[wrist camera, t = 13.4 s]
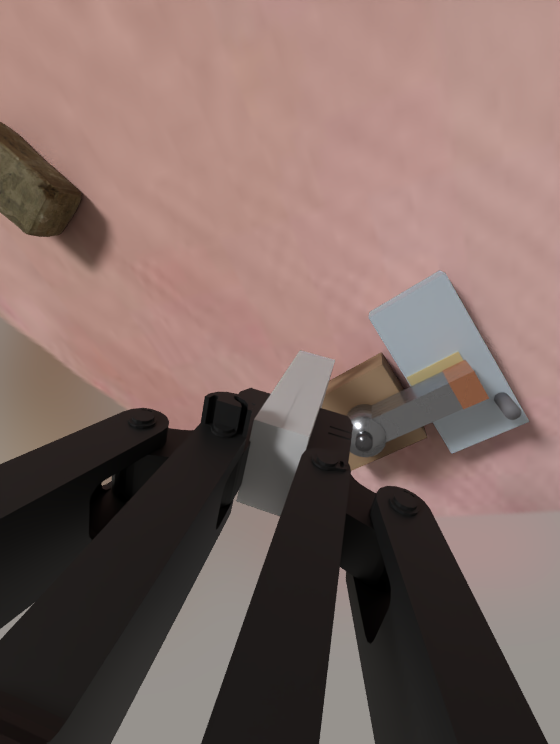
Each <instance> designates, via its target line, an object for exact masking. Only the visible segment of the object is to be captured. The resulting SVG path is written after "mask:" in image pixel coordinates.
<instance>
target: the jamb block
mask: <svg viewBox="0 0 560 744" xmlns="http://www.w3.org/2000/svg"><path fill="white" fill-rule="evenodd" d="M403 390H404V388H403V387H402V385H401V384H400V382H399V380H398V379H397V377H396V375H395V374H394V372H393V371H392V369H391V367H390V366H389V364H388V362H387V361H386V359H385V357H384V356H383V354H382V353H379V354H378V355H376V356H374V357H372V358H370V359H368V360H367V361H365V362H363V363H361V364H359V365H357V366H356V367H354V368H352V369H350V370H348V371H346V372H345V373H343V374H341V375H339V376H337V377H336V378H334V379H332V380H330V381H329V383H328V387H327V390H326V394H325V397H324V401H323V404H322V408H323V409H326V410H329V411H333V412H336V413H339V414H343V415H346V416H347V414H348V412H349V411H350V410H351V409H352V408H353V407H355V406H357V405H361V404H368V405H373V404H376V403H378V402H380V401H382V400H384V399H386V398H388V397H390V396H392V395H394V394H396V393H398V392H401V391H403ZM425 438H427V435H426V432H425V428H424V426H422V427H420V428H418V429H416V430H413V431H411V432H409V433H406V434H404V435H402V436H400V437H397V438H395V439H393V440H390V441H388V442H386V444H385V447H384V448H383V450H382V451H381V452H380V453H379V454H377V455H375V456H372V457H359V456H356V455H354V454H352V453H351V452H350V454H349V462H348V463H349V465H350V469H351V471H352V470H354V469H356V468H359V467H361V466H363V465H366V464H368V463H370V462H372V461H375V460H377V459H379V458H382V457H384V456H386V455H388V454H391V453H393V452H395V451H397V450H400V449H402V448H404V447H407V446H409V445H411V444H413V443H416V442H418V441H420V440H423V439H425Z"/></svg>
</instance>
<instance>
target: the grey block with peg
mask: <svg viewBox="0 0 560 744" xmlns="http://www.w3.org/2000/svg"><path fill="white" fill-rule="evenodd" d="M369 319H370V321H371V322H372V324H373V326H374V327H375V329H376V331H377V332H378V334H379V336H380V337H381V339H382V340H383V342H384V344H385V345H386V347H387V349H388V350H389V352H390V354H391V355H392V357H393V358H394V360H395V362H396V363H397V365H398V367H399V368H400V370H401V372H402V373H403V375H404V376H405V378H406V380H407V381H408V383H409V385H410V386H413V385H415V384H417V383H419V382H421V381H423V380H425V379H428V378H430V377H432V376H434V375H436V374H438V373H440V372H442V370H445V369H447V368H449V367H451V366H453V365H455V364H457V363H459V362H461V361H463V360H466V361H467V362H468V364H469V365H470V366H471V368H472V369H473V370H474V372H475V374H476V375H477V377H478V379H479V381H480V383H481V384H482V386H483V388H484V390H485V392H486V393H487V395H488V397H489V399H487V400H484V401H482V402H480V403H477V404H475V405H473V406H471V407H468V408H466V409H461V410H459V411H457V412H455V413H452V414H450V415H448V416H445V417H443V418H441V419H439V420H436V421H434V422H433V424H434V426H435V427H436V429H437V431H438V432H439V434H440V435H441V437H442V439H443V440H444V442H445V444H446V445H447V447H448V449H449V450H450V452H451V453H455V452H457V451H460V450H462V449H465V448H467V447H469V446H472V445H474V444H477V443H479V442H481V441H484V440H486V439H489V438H491V437H494V436H496V435H498V434H501V433H503V432H506V431H508V430H510V429H513V428H515V427H518V426H520V425H523V424H525V423H527V422H529V420H528V418H527V417H526V415H525V413H524V411H523V410H522V408H521V406H520V404H519V402H518V401H517V399H516V397H515V395H514V394H513V392H512V390H511V388H510V387H509V385H508V383H507V381H506V379H505V378H504V376H503V374H502V372H501V371H500V369H499V367H498V365H497V364H496V362H495V360H494V358H493V357H492V355H491V353H490V351H489V349H488V348H487V346H486V344H485V342H484V341H483V339H482V337H481V335H480V334H479V332H478V330H477V328H476V326H475V325H474V323H473V321H472V319H471V318H470V316H469V314H468V312H467V311H466V309H465V307H464V305H463V304H462V302H461V300H460V298H459V296H458V295H457V293H456V291H455V289H454V288H453V286H452V284H451V282H450V281H449V279H448V277H447V275H446V273H444V272H442V271H440V270H439V271H438V272H436V273H434V274H433V275H431V276H429V277H428V278H426V279H424V280H422V281H421V282H419V283H417V284H416V285H414V286H412V287H411V288H409V289H407V290H406V291H404V292H402V293H401V294H399V295H397V296H396V297H394V298H392V299H391V300H389V301H387V302H386V303H384V304H382V305H380V306H379V307H377V308H375V309H374V310H372V311H370V312H369Z"/></svg>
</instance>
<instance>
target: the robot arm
mask: <svg viewBox="0 0 560 744" xmlns="http://www.w3.org/2000/svg"><path fill="white" fill-rule="evenodd" d="M334 362H335V360H333V359H330V358H326V357H323V356H319V355H316V354H312V353H309V352H305V351H302V350H300V351H299V352H298V354H297V355H296V357H295V358H294V360H293V361H292V363H291V364H290V366H289V368H288V369H287V371H286V372H285V374H284V375H283V377H282V378H281V380H280V381H279V383H278V384H277V386H276V387H275V389H274V390H273V392H272V393H271V394H269V393H266V392H263V391H259V390H256V389H253V388H249V389H246V390H244V391H241V392H240V393H239V394H234V393H230V392H215V393H210V394H208V395H206V396H205V399H204V405H203V412H202V418H201V423H200V424H199V426H198V427H197V428H196V429H195V430H178V429H170V428H168V426H169V421H168V418H167V416H165V415H164V414H162V413H161V412H158V411H156V410H153V409H147V408H138V409H130V410H127V411H124V412H121V413H119V414H117V415H114V416H112V417H110V418H107V419H105V420H103V421H100V422H98V423H96V424H93V425H91V426H89V427H86V428H84V429H82V430H79V431H77V432H75V433H72V434H70V435H68V436H65V437H63V438H61V439H59V440H56V441H54V442H51V443H49V444H47V445H44V446H42V447H40V448H37V449H35V450H33V451H30V452H28V453H26V454H23V455H21V456H19V457H16V458H14V459H12V460H9V461H7V462H5V463H2V464H0V628H2V627H3V626H4V625H6V624H7V623H8V622H10V621H11V620H12V619H14V618H15V617H16V616H17V615H19V614H20V613H21V612H23V611H24V610H25V609H27V608H28V607H29V606H31V605H32V604H33V603H34V602H35V603H34V604H33V605H32V606H31V607H30V608H29V609H28V611H27V612H26V613H25V614H24V615H23V616H22V617H21V618H20V619H19V620H18V621H17V622H16V623H15V625H14V626H13V627H12V628H11V629H10V630H9V631H8V632H7V633H6V634H5V635H4V637H3V638H2V639H1V640H0V744H111V742H112V740H113V738H114V736H115V734H116V732H117V730H118V729H119V727H120V725H121V723H122V721H123V719H124V717H125V715H126V713H127V711H128V709H129V707H130V705H131V703H132V702H133V700H134V698H135V696H136V694H137V692H138V690H139V688H140V686H141V684H142V683H143V681H144V679H145V677H146V675H147V673H148V671H149V669H150V667H151V665H152V663H153V661H154V659H155V657H156V656H157V654H158V652H159V650H160V648H161V646H162V644H163V642H164V640H165V638H166V636H167V634H168V632H169V630H170V629H171V627H172V625H173V623H174V621H175V619H176V617H177V615H178V613H179V611H180V609H181V608H182V606H183V604H184V602H185V600H186V598H187V596H188V594H189V592H190V590H191V588H192V586H193V584H194V583H195V581H196V579H197V577H198V575H199V573H200V571H201V569H202V567H203V565H204V563H205V561H206V560H207V558H208V556H209V554H210V552H211V550H212V548H213V546H214V544H215V542H216V540H217V538H218V536H219V535H220V533H221V531H222V529H223V527H224V525H225V523H226V521H227V519H228V517H229V515H230V513H231V509H232V504H233V499H234V497H235V495H236V494H237V492H238V490H239V492H238V496H237V502H240V503H243V504H246V505H248V506H251V507H255V508H257V509H260V510H263V511H266V512H269V513H272V514H274V515H277V516H280V519H279V521H278V524H277V528H276V531H275V533H274V536H273V539H272V542H271V545H270V547H269V550H268V553H267V556H266V559H265V562H264V565H263V568H262V571H261V573H260V576H259V579H258V582H257V585H256V588H255V590H254V594H253V596H252V599H251V602H250V605H249V608H248V610H247V613H246V616H245V619H244V622H243V625H242V628H241V631H240V633H239V636H238V639H237V642H236V645H235V648H234V651H233V654H232V656H231V660H230V662H229V665H228V668H227V671H226V674H225V677H224V679H223V682H222V685H221V688H220V691H219V694H218V697H217V699H216V702H215V705H214V708H213V711H212V714H211V717H210V720H209V723H208V725H207V728H206V731H205V734H204V737H203V740H202V743H201V744H319V739H320V730H321V721H322V713H323V705H324V696H325V688H326V679H327V670H328V661H329V654H330V645H331V636H332V628H333V620H334V611H335V602H336V593H337V585H338V576H339V568H340V567H341V568H342V569H344V570H345V571H346V583H347V588H348V594H349V600H350V606H351V610H352V616H353V622H354V628H355V633H356V639H357V645H358V650H359V656H360V661H361V667H362V672H363V678H364V684H365V689H366V695H367V700H368V706H369V711H370V717H371V723H372V728H373V734H374V740H375V744H548V743H547V741H546V739H545V737H544V735H543V733H542V731H541V729H540V727H539V725H538V723H537V721H536V719H535V717H534V715H533V713H532V711H531V709H530V707H529V705H528V703H527V701H526V699H525V697H524V695H523V693H522V691H521V689H520V687H519V685H518V683H517V681H516V679H515V677H514V675H513V673H512V671H511V670H510V667H509V665H508V663H507V661H506V659H505V657H504V655H503V653H502V651H501V649H500V647H499V645H498V643H497V642H496V639H495V637H494V635H493V633H492V631H491V629H490V627H489V625H488V623H487V622H486V619H485V617H484V615H483V613H482V612H481V610H480V607H479V606H478V604H477V602H476V599H475V597H474V596H473V594H472V592H471V589H470V588H469V586H468V584H467V582H466V580H465V578H464V576H463V574H462V572H461V570H460V568H459V566H458V564H457V562H456V560H455V558H454V556H453V554H452V552H451V550H450V548H449V546H448V544H447V542H446V540H445V538H444V536H443V534H442V532H441V530H440V528H439V526H438V524H437V522H436V520H435V518H434V516H433V514H432V512H431V510H430V508H429V507H428V506H427V504H426V503H425V502H424V501H423V500H422V499H421V498H419V497H418V496H417V495H416V494H414V493H412V492H410V491H409V490H406V489H403V488H400V487H396V486H385V487H382V488H380V489H379V490H378V492H377V493H374V492H372V491H371V490H369V489H367V488H366V487H364V486H362V485H361V484H360V483H358V482H357V481H356V480H355V479H354V478H353V476H352V475H351V469H350V465H349V463H348V462H349V454H350V446H351V438H352V430H353V424H352V422H351V420H350V418H349V417H348V416H346V415H343V414H339V413H336V412H333V411H329V410H326V409H323V408H322V404H323V401H324V397H325V394H326V390H327V387H328V383H329V380H330V376H331V373H332V369H333V366H334ZM111 476H112V481H111V482H109V483H108V484H106V485H103V486H102V485H101V483H102V482H103V481H104V480H105V479H107V478H109V477H111Z"/></svg>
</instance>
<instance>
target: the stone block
mask: <svg viewBox="0 0 560 744" xmlns="http://www.w3.org/2000/svg"><path fill="white" fill-rule="evenodd" d="M80 201H81V192H80V191H79V190H78V189H77V188H76V187H75V186H74V185H73V184H71V183H70V182H69V181H68V180H67V179H66V178H65V177H63V176H62V175H61V174H60V173H59V172H57V170H56V169H55V168H53V167H52V166H51V165H50V164H49V163H47V162H46V161H45V160H43V159H42V157H41V156H40V155H39V154H38V153H37V152H35V151H34V150H33V149H32V148H31V147H30V146H29V145H28V144H27V143H26V142H25V140H24V139H23V138H21V137H20V136H19V135H18V134H17V133H16V132H15V131H13V130H12V129H10V128H9V127H8V126H6V125H5V124H3V123H2V122H0V212H1V213H2V214H3V215H4V216H5V217H7V218H8V219H9V220H10V221H12V222H13V223H14V224H15V225H17V226H18V227H19V228H20V229H21V230H22V231H23V232H24V233H26V234H28V235H33V236H39V237H50V236H55V235H59V234H61V233H62V232H63V230H64V229H65V227H66V226H67V224H68V222H69V221H70V219H71V218H72V216H73V215H74V213H75V212H76V210H77V208H78V206H79V203H80Z"/></svg>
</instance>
